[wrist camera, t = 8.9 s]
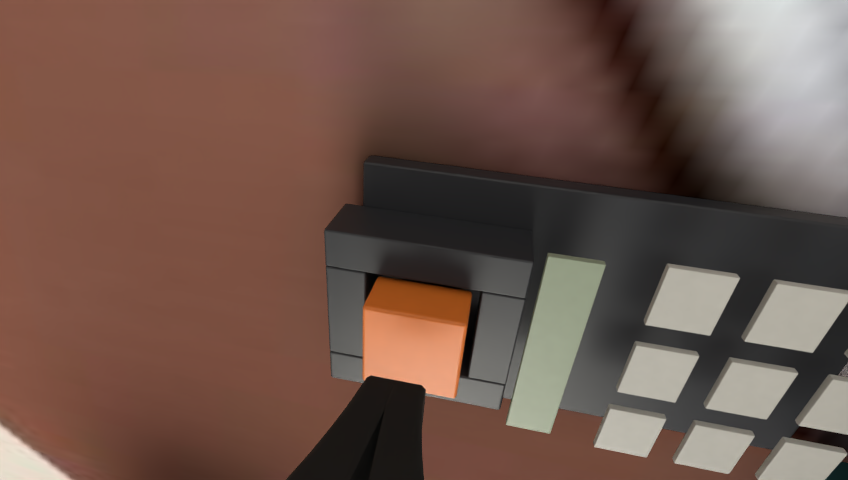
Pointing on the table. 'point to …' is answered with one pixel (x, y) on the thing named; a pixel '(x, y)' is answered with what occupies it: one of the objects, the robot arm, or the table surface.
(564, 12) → the table surface
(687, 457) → the keypad
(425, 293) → the on key
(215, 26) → the table surface
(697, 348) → the calculator
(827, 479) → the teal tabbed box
